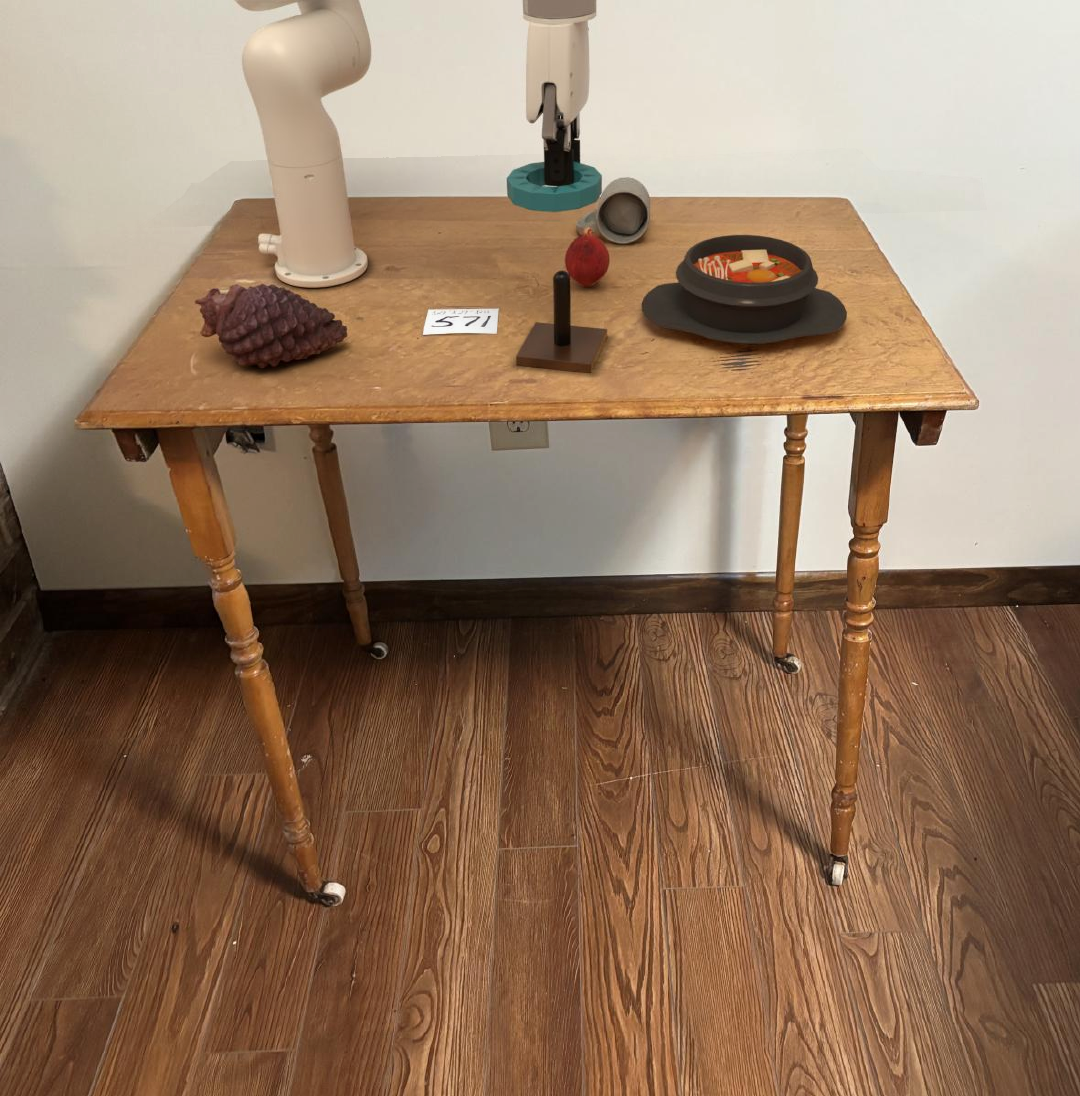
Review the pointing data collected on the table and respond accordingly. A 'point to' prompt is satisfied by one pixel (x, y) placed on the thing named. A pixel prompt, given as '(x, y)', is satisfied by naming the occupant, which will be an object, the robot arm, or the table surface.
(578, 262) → the onion
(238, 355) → the pine cone
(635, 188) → the ceramic mug
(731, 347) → the table surface
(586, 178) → the ring
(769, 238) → the casserole
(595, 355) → the stand
